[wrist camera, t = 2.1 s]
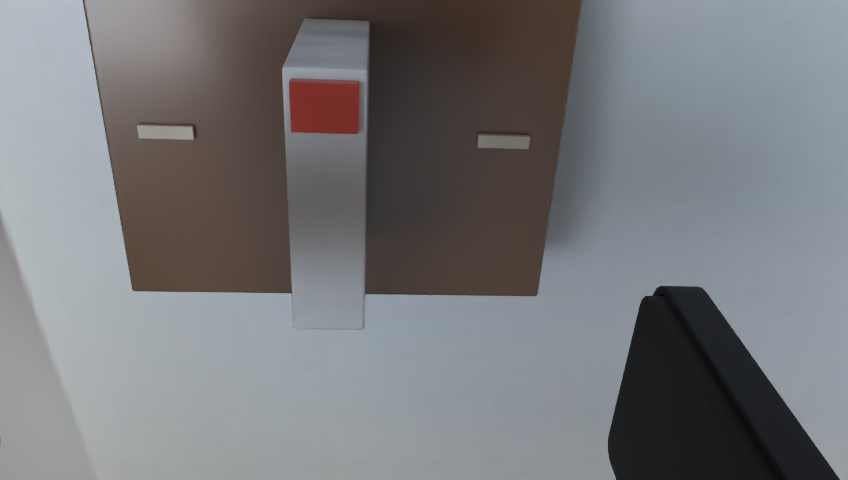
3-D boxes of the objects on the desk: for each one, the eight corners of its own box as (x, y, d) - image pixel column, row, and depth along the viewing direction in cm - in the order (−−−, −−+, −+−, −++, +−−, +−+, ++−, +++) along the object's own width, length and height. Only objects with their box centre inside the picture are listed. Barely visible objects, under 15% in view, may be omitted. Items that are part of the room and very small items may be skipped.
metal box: (366, 237, 20) (363, 337, 16) (310, 236, 20) (292, 336, 16) (370, 20, 17) (366, 73, 13) (303, 17, 17) (280, 70, 13)
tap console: (160, 245, 23) (130, 298, 21) (110, -97, 18) (63, -89, 16) (520, 251, 24) (538, 303, 21) (563, -74, 19) (594, -62, 17)
